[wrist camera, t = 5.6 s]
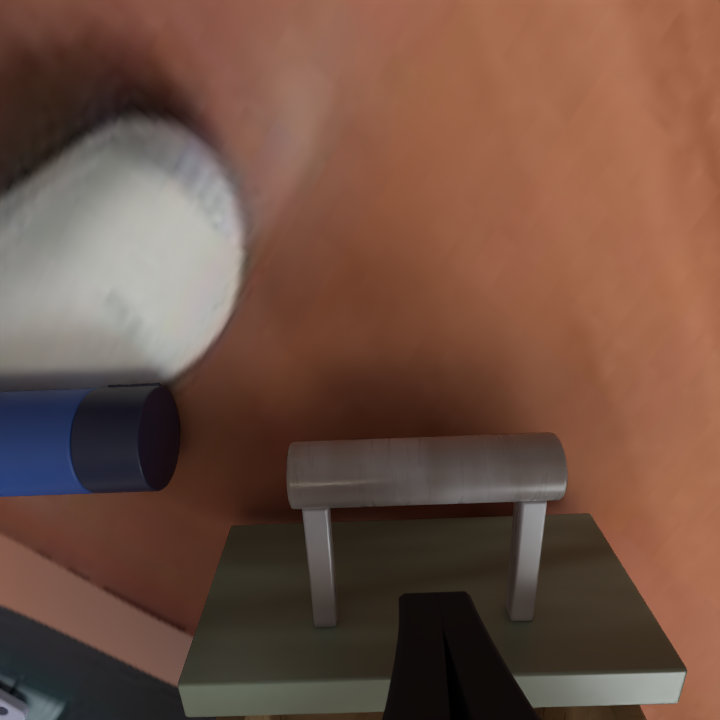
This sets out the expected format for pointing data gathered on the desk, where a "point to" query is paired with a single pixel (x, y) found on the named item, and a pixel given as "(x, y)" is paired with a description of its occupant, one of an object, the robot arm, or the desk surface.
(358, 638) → the drawer
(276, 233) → the desk surface
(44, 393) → the marker
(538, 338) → the desk surface
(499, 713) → the robot arm
